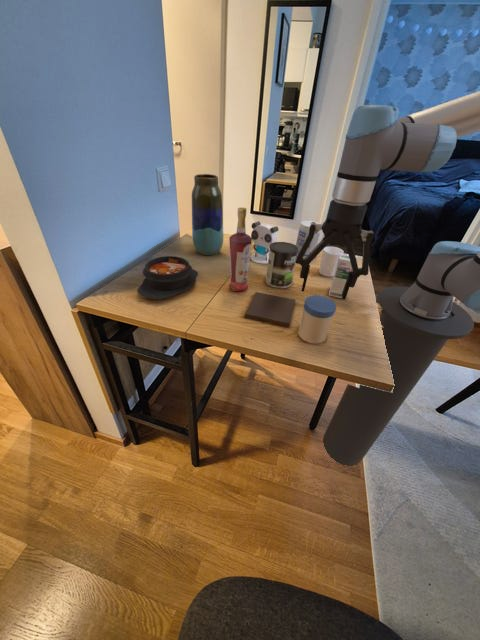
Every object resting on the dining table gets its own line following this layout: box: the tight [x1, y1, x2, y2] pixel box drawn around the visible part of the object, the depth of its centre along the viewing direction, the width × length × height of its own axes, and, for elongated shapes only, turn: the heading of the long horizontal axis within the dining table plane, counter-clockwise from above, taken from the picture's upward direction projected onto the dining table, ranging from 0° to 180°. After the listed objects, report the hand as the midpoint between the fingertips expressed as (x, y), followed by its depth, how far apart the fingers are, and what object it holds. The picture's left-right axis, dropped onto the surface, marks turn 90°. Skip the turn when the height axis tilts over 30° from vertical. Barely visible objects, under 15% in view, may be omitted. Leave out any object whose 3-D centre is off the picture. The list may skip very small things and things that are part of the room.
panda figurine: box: [250, 221, 279, 265], centre depth 113 cm, size 12×11×15 cm
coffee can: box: [265, 241, 298, 289], centre depth 97 cm, size 10×10×14 cm
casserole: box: [136, 255, 199, 300], centre depth 92 cm, size 25×19×8 cm
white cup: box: [318, 246, 345, 278], centre depth 106 cm, size 8×8×10 cm
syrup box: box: [328, 253, 358, 299], centre depth 91 cm, size 6×6×14 cm
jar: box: [297, 308, 334, 345], centre depth 73 cm, size 8×8×10 cm
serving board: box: [244, 291, 296, 328], centre depth 85 cm, size 14×14×2 cm
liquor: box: [228, 207, 253, 293], centre depth 87 cm, size 7×7×28 cm
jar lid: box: [303, 294, 337, 318], centre depth 70 cm, size 8×8×2 cm
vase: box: [191, 173, 225, 256], centre depth 111 cm, size 14×14×31 cm
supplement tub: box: [295, 220, 322, 259], centre depth 118 cm, size 10×10×15 cm
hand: (322, 292), depth 68 cm, fingers open, 10 cm apart
